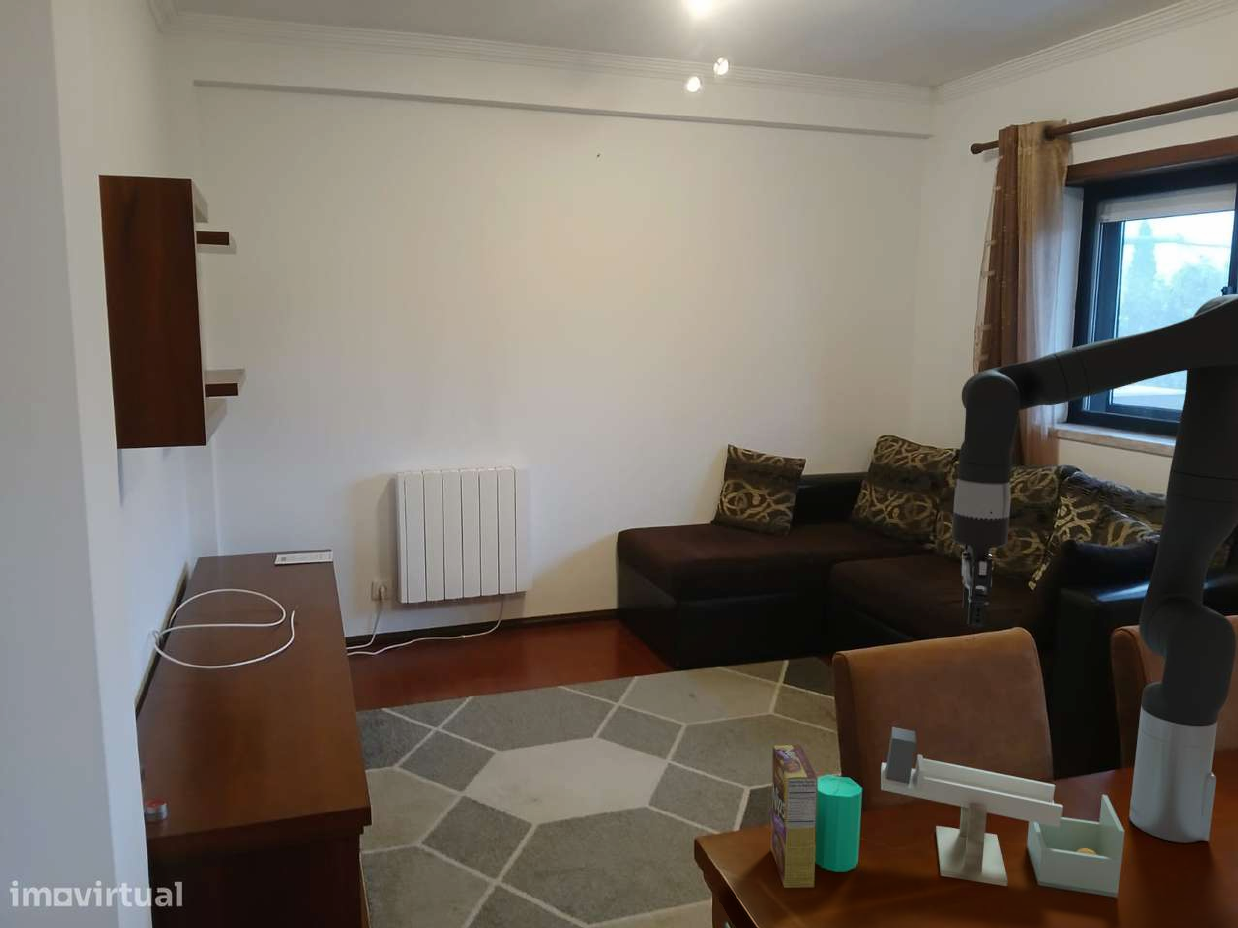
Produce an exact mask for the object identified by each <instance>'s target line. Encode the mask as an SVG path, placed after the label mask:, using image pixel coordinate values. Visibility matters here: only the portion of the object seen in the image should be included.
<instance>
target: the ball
mask: <svg viewBox="0 0 1238 928" xmlns="http://www.w3.org/2000/svg"><path fill="white" fill-rule="evenodd" d="M1077 852H1079V853H1086V854H1093V855H1097V854H1096V853H1095V852H1094V851H1093V850H1091V849H1088V848H1082V849H1079V850H1078V851H1077Z"/></svg>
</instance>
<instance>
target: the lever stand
mask: <svg viewBox="0 0 1238 928" xmlns="http://www.w3.org/2000/svg"><path fill="white" fill-rule="evenodd" d="M987 813H988V812H987V808H986V805H981V804H974V803H969V808H965V807H960V818H959V819H960V820H959V828H953V827H947V826H940V825H935V826H936V827H935V833H936V835H935V837H936V844H937V845H936V846H937V853H938V860H939V862H938V863H939V869H940V876H942V877H949V878H952V879H953V878H955V879H961V880H967V881H972V882H978V883H984V884H989V885H990V884H991V885H998V886H1002V887H1007V886H1008V877H1007V873H1006V869H1005V865H1004V859H1003V854H1002V852H1001V851H1002V849H1001V847H1000V842H999V839H998V835H997V834H995V833H994V834H993V833H988V832H986V824H987Z"/></svg>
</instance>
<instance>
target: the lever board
mask: <svg viewBox="0 0 1238 928" xmlns="http://www.w3.org/2000/svg"><path fill="white" fill-rule="evenodd" d="M916 738H917V737H916V731H915V730H911V729H906V728H899V727H896V726H892V727H891V731H890V737H889V743H888V744H889V745H888V751H887V758H886V760H887V761H886V762H882V763H881V769H880V774H881V776H880V778H881V779H880V780H881V782H880V785H881V786H880V788H881V789H880V790H881V791H886V792H890V793H895V794H899V795H905V796H908V797H914V798H919V799H923V800H927V801H928V800H929V801H933V802H937V803H943V804H947V805H952V806H956V807H960V808H961V807H965V808H969V803H974V804H981V805H986V808H987V813H988V814H989V813H990V814H994V815H999V816H1003V817H1007V818H1013V819H1017V820H1023V821H1027V822H1029V821H1031V822H1036V823H1040V824H1045V825H1050V826H1055V827H1059V826H1060V820H1061V817H1062V815H1063V814H1062V813H1063V809H1064V807H1063V804H1059V803H1055V801H1054V796H1055V795H1054V794H1055V791H1056V790H1055V789H1056V785H1055V784H1052V783H1048V782H1044V781H1043V782H1042V781H1037V780H1033V779H1027V778H1023V777H1017V776H1013V775H1008V774H1002V773H997V772H994V771H988V770H984V769H979V768H973V767H969V766H963V765H958V764H954V763H948V762H943V761H939V760H935V759H934V760H933V759H928V758H923V754H917V758H916V763H915V764H916V765H915V768H913V764H914V757H915V750H916V743H917V741H916V740H917V739H916Z"/></svg>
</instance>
